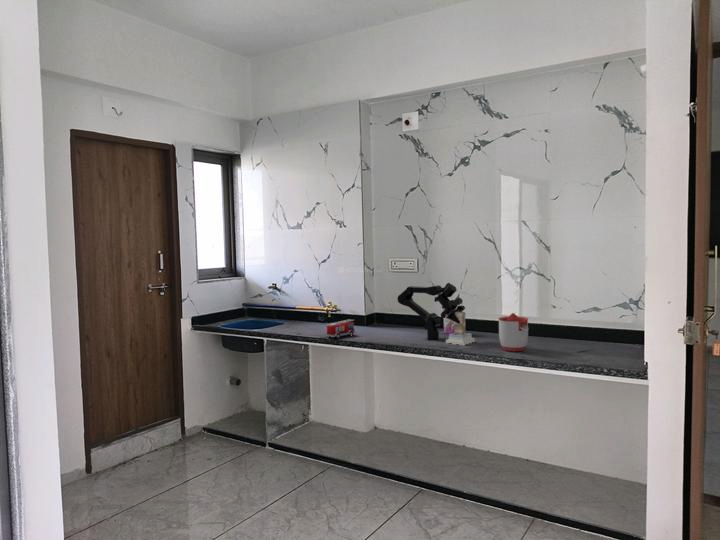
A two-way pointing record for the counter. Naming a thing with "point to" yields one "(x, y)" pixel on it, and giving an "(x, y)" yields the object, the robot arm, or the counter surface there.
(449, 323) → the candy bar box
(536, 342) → the counter surface
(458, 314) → the birch block
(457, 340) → the tower base
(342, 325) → the toy fire truck
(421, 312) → the robot arm
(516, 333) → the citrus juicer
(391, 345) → the counter surface
